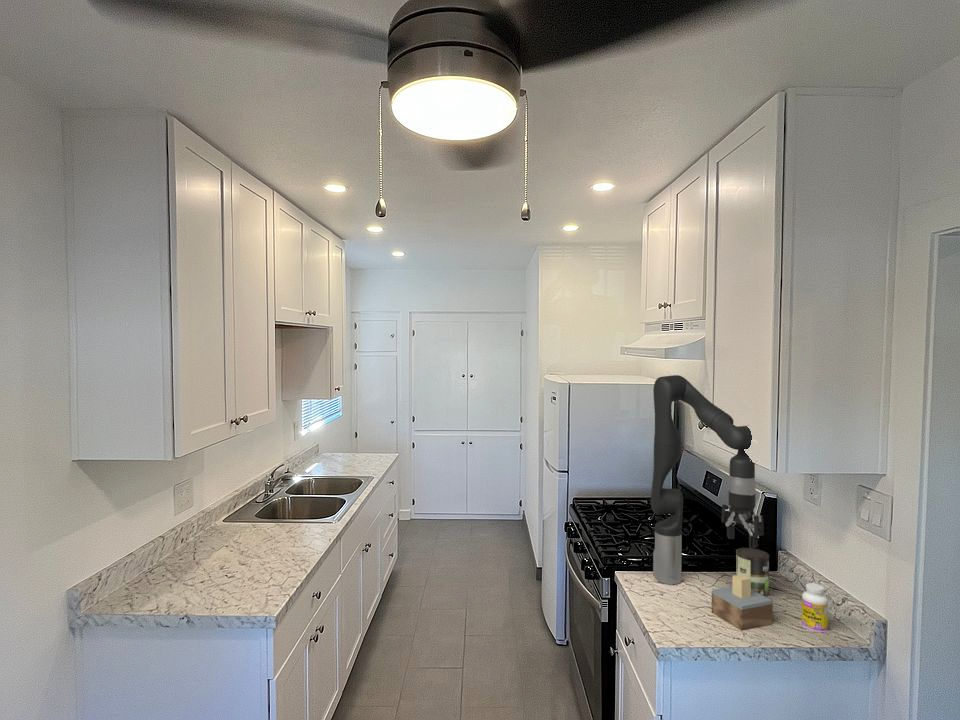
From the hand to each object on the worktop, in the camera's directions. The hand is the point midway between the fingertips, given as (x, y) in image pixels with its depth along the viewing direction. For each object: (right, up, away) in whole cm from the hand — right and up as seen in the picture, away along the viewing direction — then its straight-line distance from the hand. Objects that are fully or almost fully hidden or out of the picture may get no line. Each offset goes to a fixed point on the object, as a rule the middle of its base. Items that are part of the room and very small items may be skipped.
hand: (741, 543), depth 166 cm
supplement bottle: (+20, -24, -5) cm, 32 cm away
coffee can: (+13, -24, +20) cm, 34 cm away
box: (0, -24, 0) cm, 24 cm away
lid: (0, -18, 0) cm, 18 cm away
